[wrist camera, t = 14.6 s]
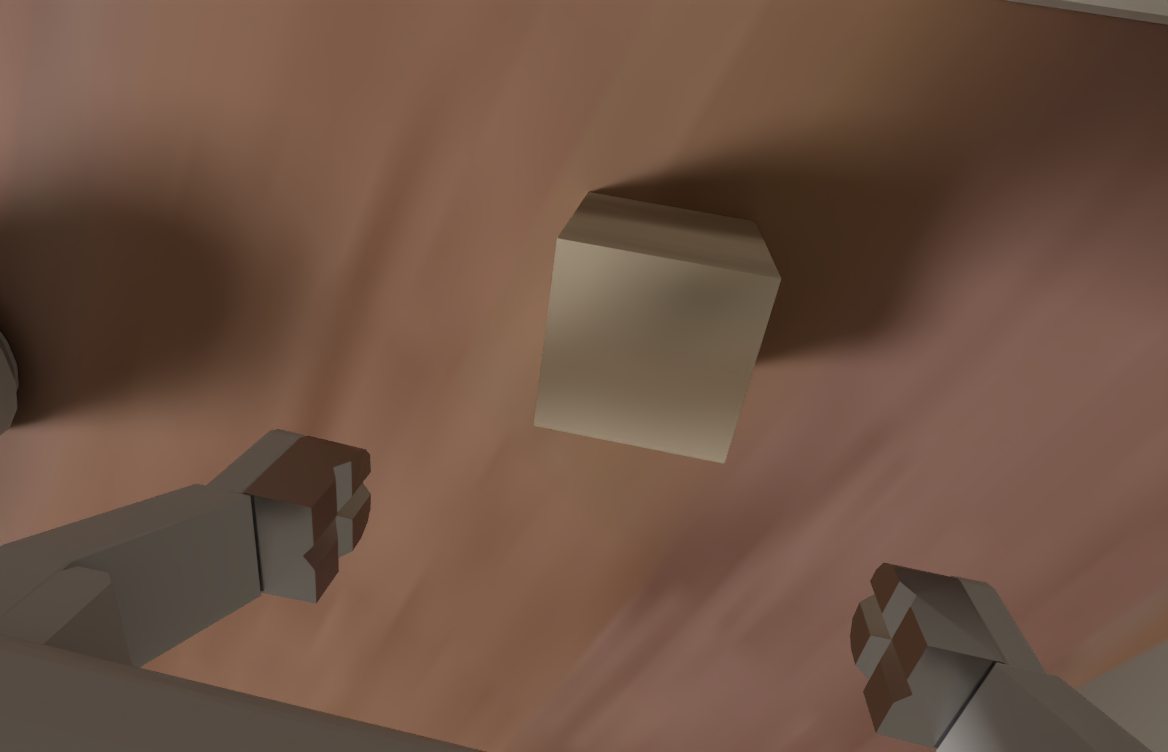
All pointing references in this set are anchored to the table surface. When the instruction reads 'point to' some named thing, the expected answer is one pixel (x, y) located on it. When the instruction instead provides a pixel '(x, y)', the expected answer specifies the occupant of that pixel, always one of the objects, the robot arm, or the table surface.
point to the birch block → (654, 325)
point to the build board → (1112, 8)
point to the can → (7, 385)
